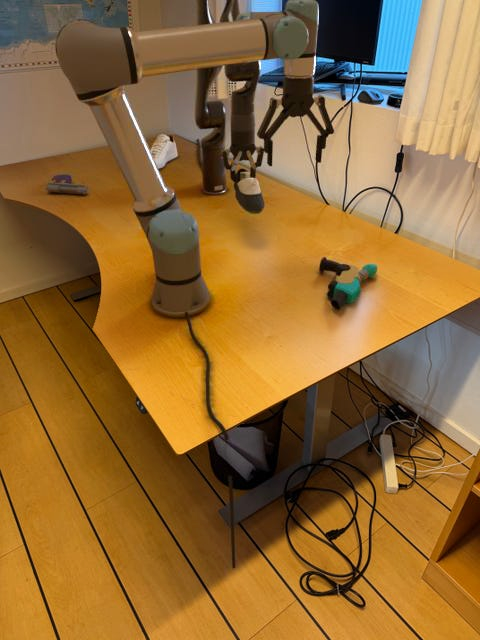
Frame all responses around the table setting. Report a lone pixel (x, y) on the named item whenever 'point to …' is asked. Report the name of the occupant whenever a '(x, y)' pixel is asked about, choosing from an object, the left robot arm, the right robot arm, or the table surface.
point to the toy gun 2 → (345, 281)
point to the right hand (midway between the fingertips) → (242, 180)
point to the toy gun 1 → (65, 185)
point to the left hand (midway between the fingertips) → (294, 163)
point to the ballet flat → (248, 192)
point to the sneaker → (164, 150)
